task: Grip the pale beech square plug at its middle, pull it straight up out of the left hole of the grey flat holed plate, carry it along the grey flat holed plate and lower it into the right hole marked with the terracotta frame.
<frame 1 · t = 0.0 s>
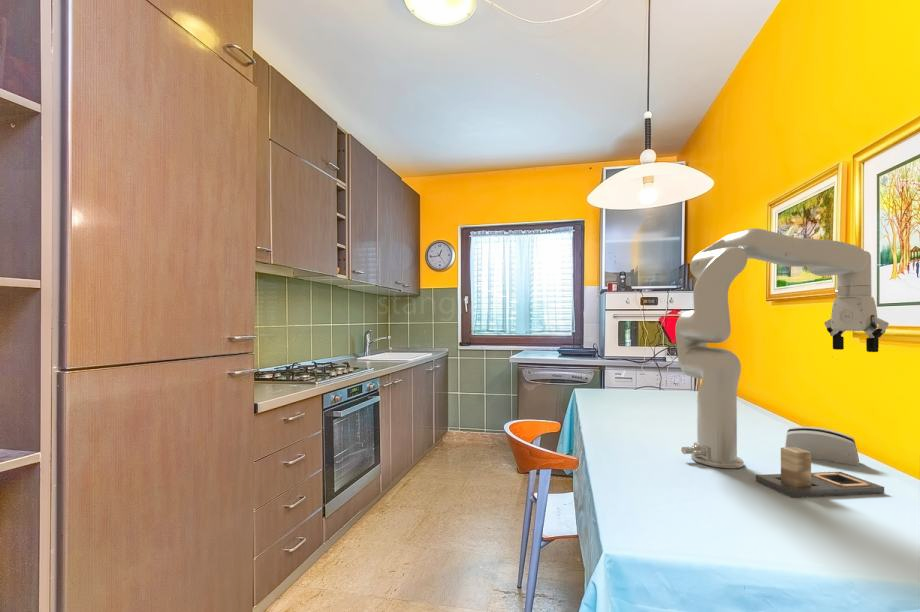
hand: (854, 350, 128), 31 cm above the table, tool pointing down, fingers open, 9 cm apart
grey slotted arched block: (820, 459, 125), on the table
plug: (795, 488, 102), resting in grey flat holed plate
grey flat holed plate: (818, 487, 103), on the table
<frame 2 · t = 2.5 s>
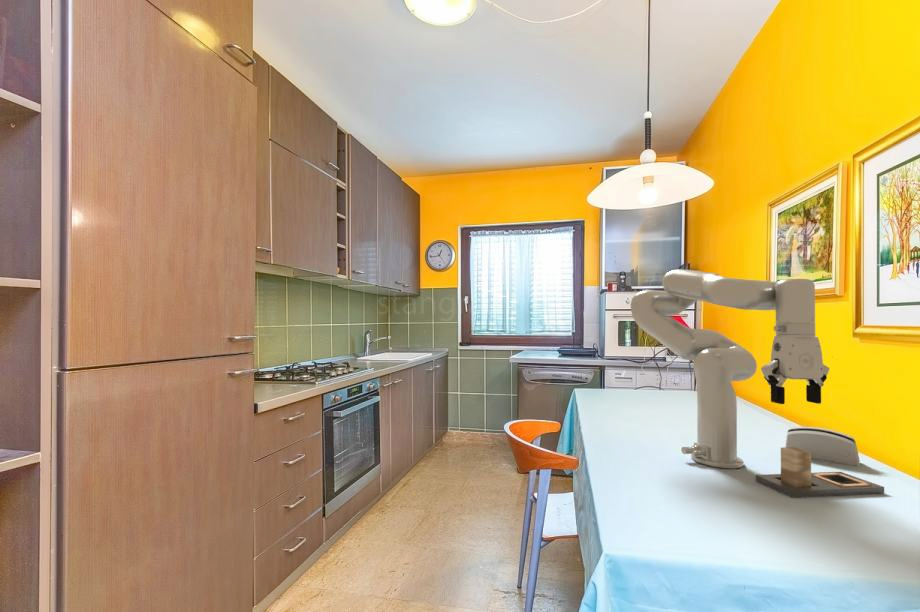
hand: (795, 402, 103), 20 cm above the table, tool pointing down, fingers open, 9 cm apart
nothing on the table moved.
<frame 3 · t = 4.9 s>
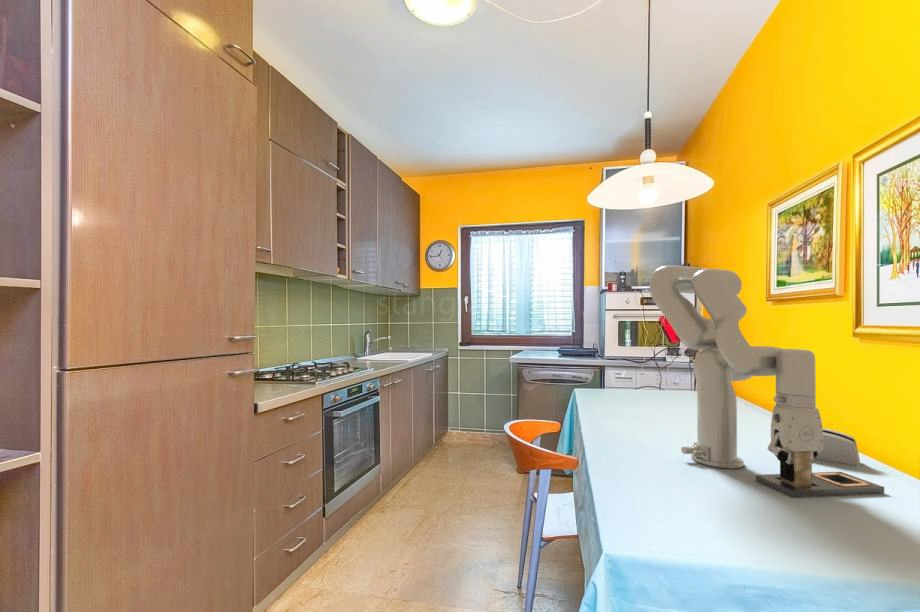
hand: (795, 478, 102), 2 cm above the table, tool pointing down, fingers closed on plug, 3 cm apart
plug: (795, 487, 102), resting in grey flat holed plate, touching gripper
everything else where it was.
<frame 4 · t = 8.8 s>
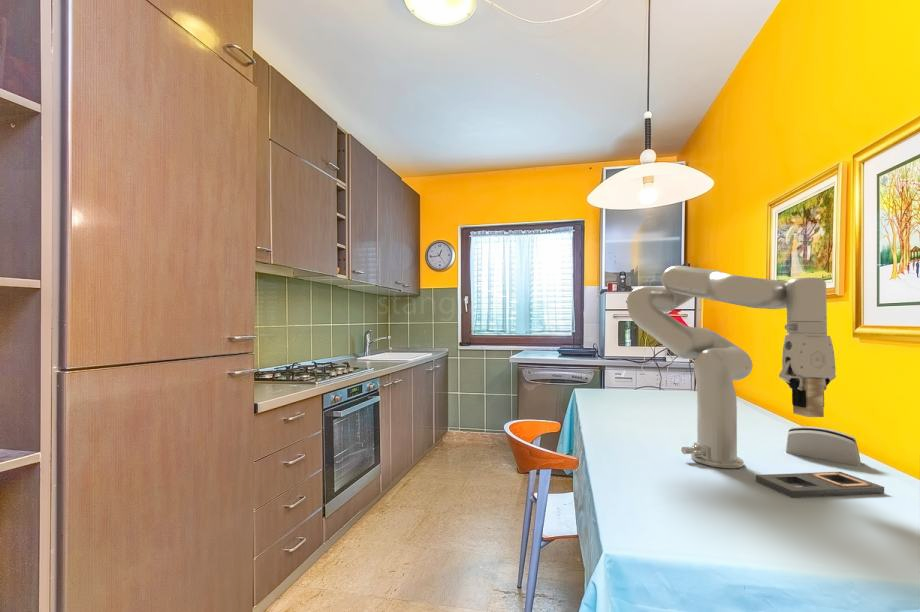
hand: (808, 405, 103), 19 cm above the table, tool pointing down, fingers closed on plug, 3 cm apart
plug: (808, 415, 103), point 17 cm above the table, touching gripper
everything else where it was.
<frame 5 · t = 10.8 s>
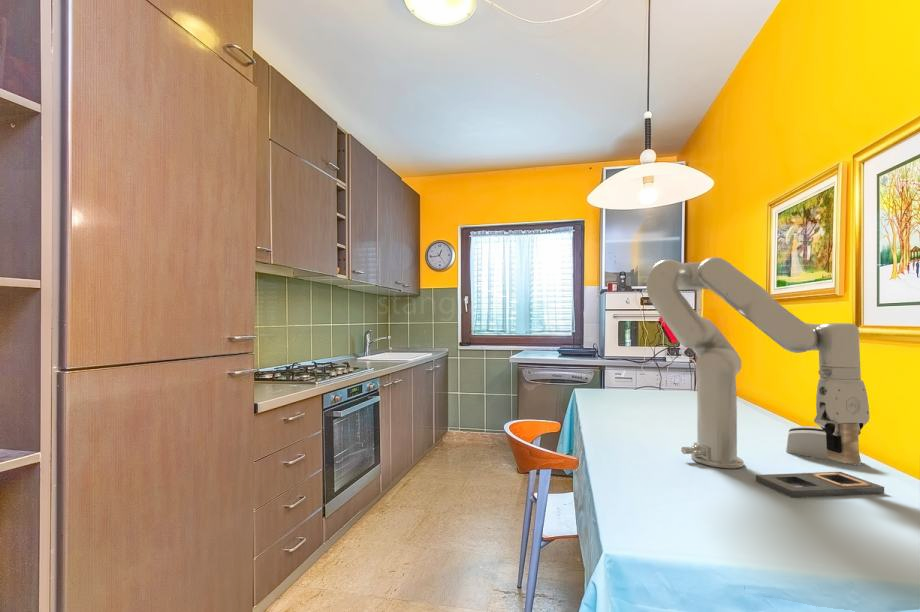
hand: (842, 450, 104), 9 cm above the table, tool pointing down, fingers closed on plug, 3 cm apart
plug: (843, 459, 104), point 6 cm above the table, touching gripper
everything else where it was.
when the fingers open (3 cm above the table, at t = 12.7 s): plug stays where it is, resting in grey flat holed plate.
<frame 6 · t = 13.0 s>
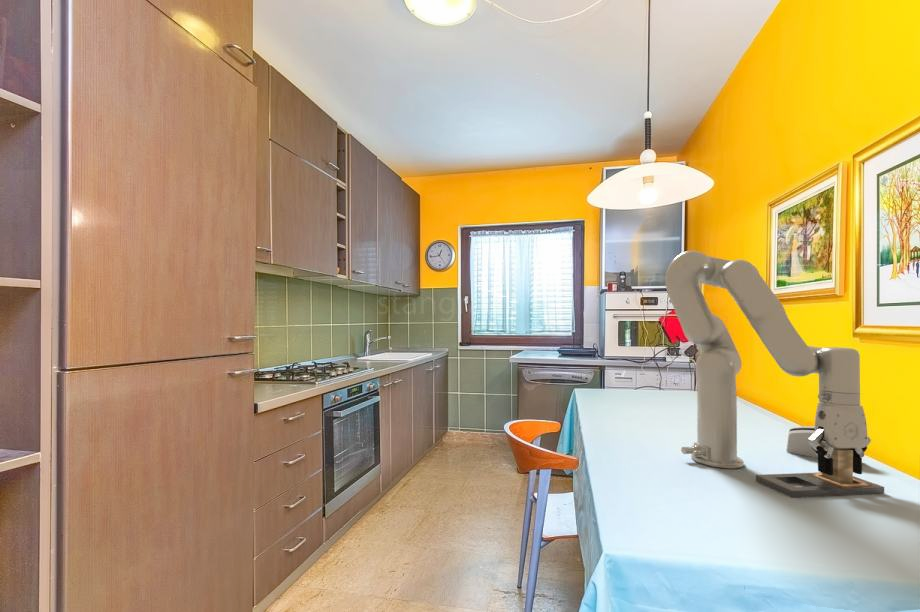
hand: (839, 472, 104), 3 cm above the table, tool pointing down, fingers open, 7 cm apart
plug: (836, 484, 105), resting in grey flat holed plate
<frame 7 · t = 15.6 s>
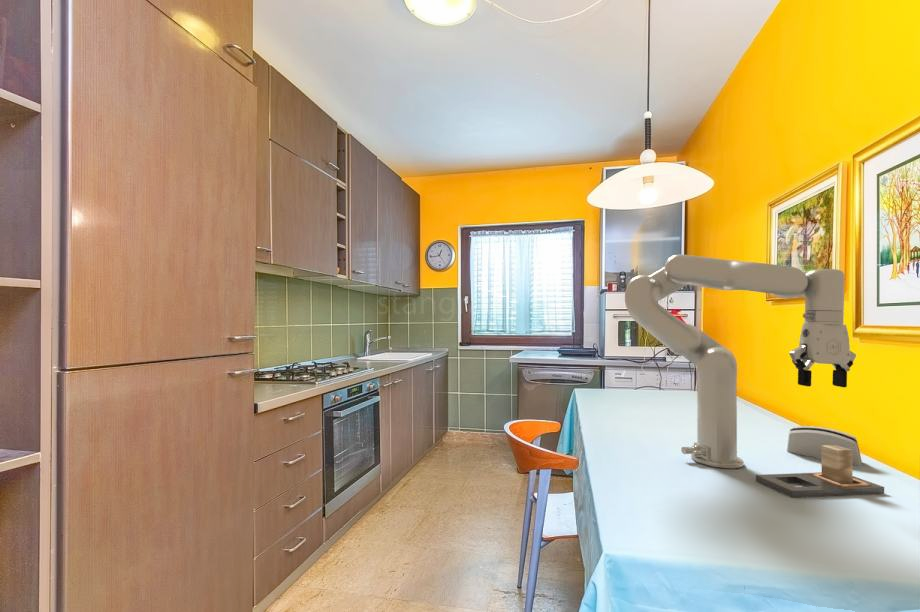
hand: (821, 386, 109), 23 cm above the table, tool pointing down, fingers open, 9 cm apart
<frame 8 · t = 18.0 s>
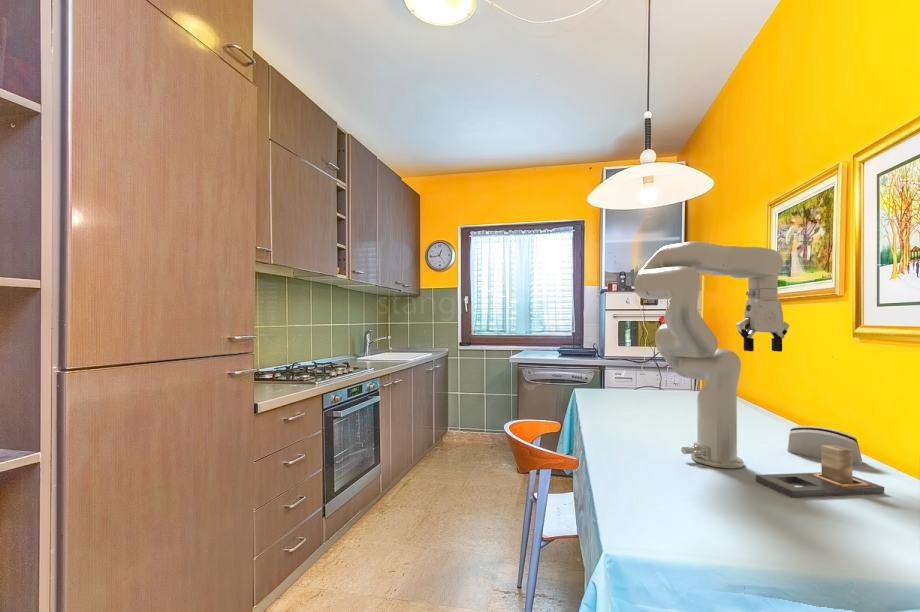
hand: (762, 351, 133), 30 cm above the table, tool pointing down, fingers open, 9 cm apart
at the end: plug 0.7 cm from the target spot on the grey flat holed plate, point 0.0 cm above the grey flat holed plate's base; plug tilted 0°; the gripper is holding nothing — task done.
